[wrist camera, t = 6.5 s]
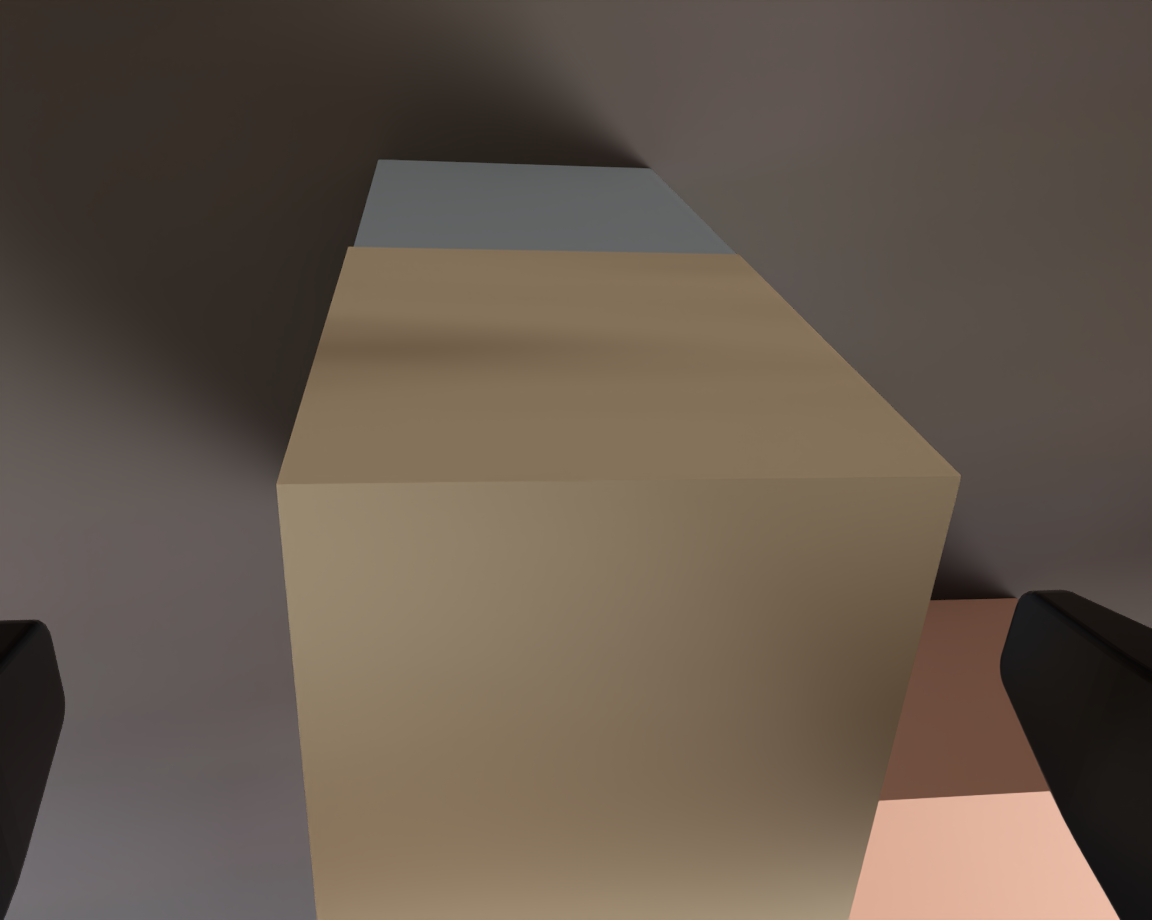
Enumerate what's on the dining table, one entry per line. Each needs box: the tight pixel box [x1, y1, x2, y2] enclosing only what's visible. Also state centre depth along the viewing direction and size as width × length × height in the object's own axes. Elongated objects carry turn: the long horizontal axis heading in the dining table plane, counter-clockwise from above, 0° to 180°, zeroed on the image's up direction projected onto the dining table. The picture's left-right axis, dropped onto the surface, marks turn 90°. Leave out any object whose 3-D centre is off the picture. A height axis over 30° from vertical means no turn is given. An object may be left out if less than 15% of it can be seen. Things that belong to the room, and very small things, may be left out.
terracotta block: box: [849, 598, 1120, 920], centre depth 18 cm, size 6×4×5 cm, turn 87°
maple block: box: [276, 247, 961, 920], centre depth 9 cm, size 6×4×5 cm, turn 177°
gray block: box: [354, 159, 736, 254], centre depth 14 cm, size 6×4×5 cm, turn 177°
